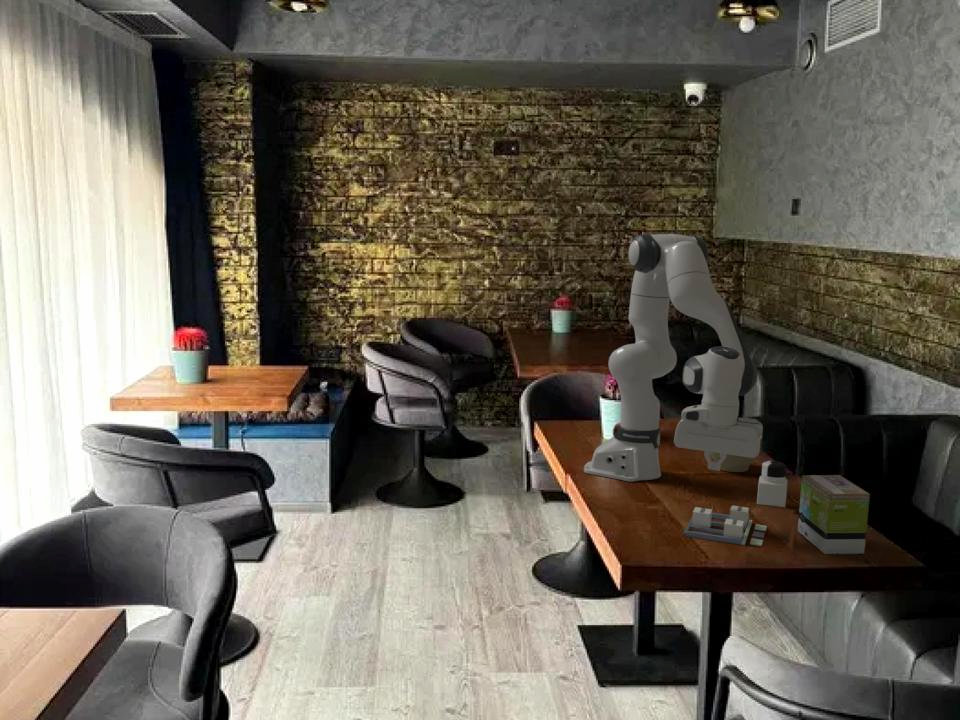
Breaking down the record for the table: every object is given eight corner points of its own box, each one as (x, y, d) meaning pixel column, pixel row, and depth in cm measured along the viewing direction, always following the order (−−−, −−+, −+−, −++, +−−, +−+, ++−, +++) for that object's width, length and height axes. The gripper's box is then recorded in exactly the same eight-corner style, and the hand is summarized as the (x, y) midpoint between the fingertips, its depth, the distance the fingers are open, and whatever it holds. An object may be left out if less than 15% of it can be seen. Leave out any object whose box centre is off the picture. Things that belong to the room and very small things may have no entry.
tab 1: (728, 526, 223) (730, 509, 222) (730, 521, 226) (732, 504, 226) (745, 528, 221) (747, 511, 221) (747, 523, 225) (748, 507, 224)
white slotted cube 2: (691, 527, 221) (692, 511, 220) (694, 522, 224) (695, 506, 224) (708, 530, 219) (709, 513, 218) (711, 525, 223) (712, 508, 222)
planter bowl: (699, 460, 288) (702, 426, 286) (751, 462, 288) (754, 428, 286) (710, 474, 272) (713, 439, 270) (765, 477, 272) (768, 441, 270)
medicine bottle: (785, 504, 246) (789, 460, 244) (784, 512, 239) (788, 467, 237) (757, 500, 248) (761, 457, 246) (756, 508, 241) (759, 464, 239)
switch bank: (662, 538, 216) (663, 528, 216) (676, 516, 233) (676, 507, 232) (764, 554, 208) (765, 544, 208) (770, 530, 225) (771, 520, 224)
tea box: (795, 532, 224) (800, 473, 222) (835, 532, 225) (840, 473, 222) (823, 554, 209) (829, 492, 207) (865, 554, 210) (872, 492, 208)
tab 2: (723, 540, 213) (724, 523, 212) (725, 534, 216) (726, 517, 216) (740, 543, 211) (742, 525, 210) (742, 537, 215) (744, 520, 214)
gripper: (765, 417, 222) (759, 472, 224) (679, 406, 229) (675, 460, 232) (762, 422, 216) (756, 479, 218) (675, 411, 223) (670, 466, 226)
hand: (714, 469), depth 225 cm, fingers closed
